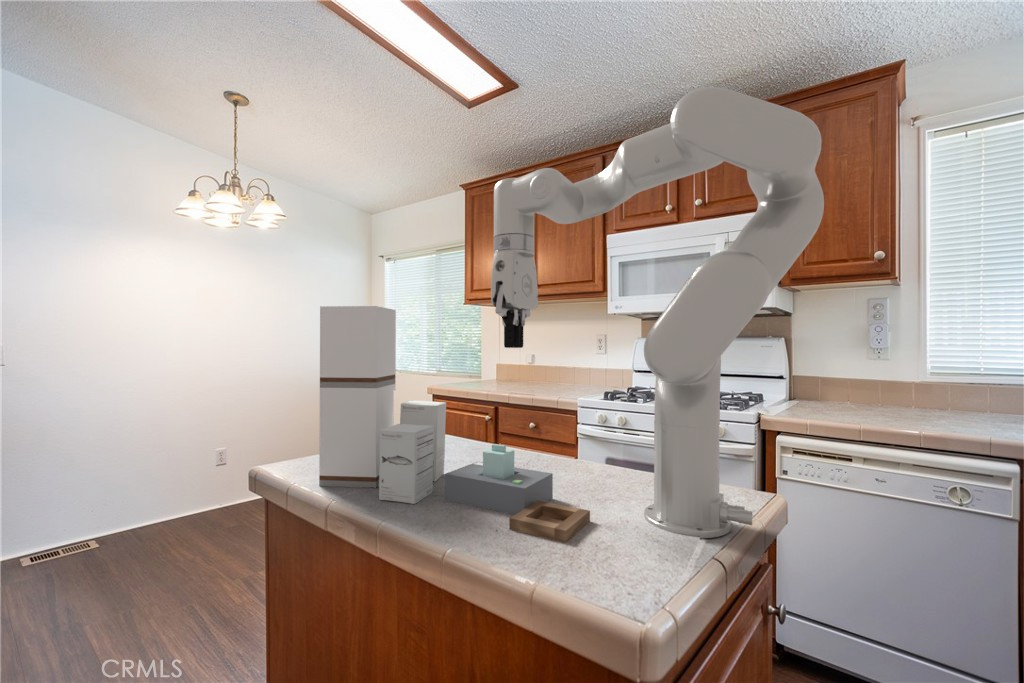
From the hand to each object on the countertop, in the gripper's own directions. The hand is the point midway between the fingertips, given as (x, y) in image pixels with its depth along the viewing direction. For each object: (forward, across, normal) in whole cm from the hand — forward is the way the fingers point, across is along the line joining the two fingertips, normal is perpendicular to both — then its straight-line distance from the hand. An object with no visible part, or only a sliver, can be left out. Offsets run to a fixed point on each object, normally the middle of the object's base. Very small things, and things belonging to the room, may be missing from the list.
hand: (513, 347), depth 86 cm
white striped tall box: (+27, -8, +32) cm, 43 cm away
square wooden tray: (+27, -11, -13) cm, 32 cm away
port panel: (+27, -5, 0) cm, 28 cm away
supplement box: (+27, -11, +16) cm, 34 cm away
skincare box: (+27, 0, +22) cm, 35 cm away
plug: (+26, -5, 0) cm, 27 cm away
